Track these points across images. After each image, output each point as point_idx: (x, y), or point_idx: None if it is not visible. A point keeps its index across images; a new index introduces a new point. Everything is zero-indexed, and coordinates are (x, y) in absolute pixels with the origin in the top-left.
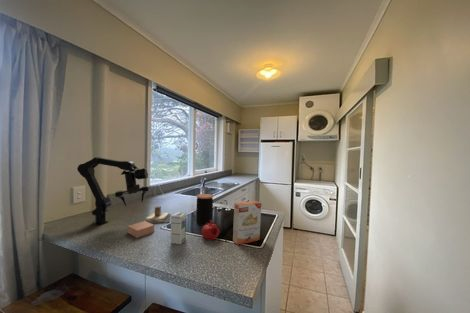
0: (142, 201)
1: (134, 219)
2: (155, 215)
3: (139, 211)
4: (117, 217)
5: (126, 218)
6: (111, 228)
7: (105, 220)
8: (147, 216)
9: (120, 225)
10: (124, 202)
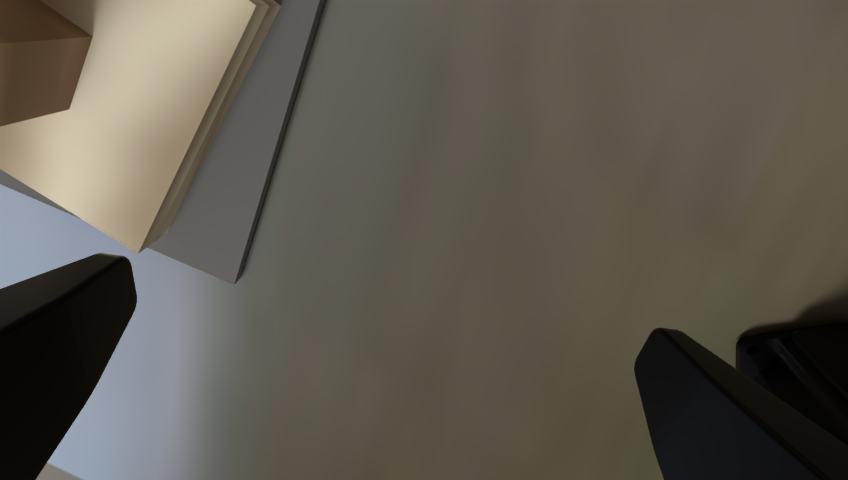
0: (57, 270)
1: (414, 247)
2: (65, 26)
3: (304, 467)
4: (571, 430)
5: (493, 342)
6: (833, 54)
7: (796, 358)
8: (232, 231)
9: (663, 113)
10: (827, 445)
